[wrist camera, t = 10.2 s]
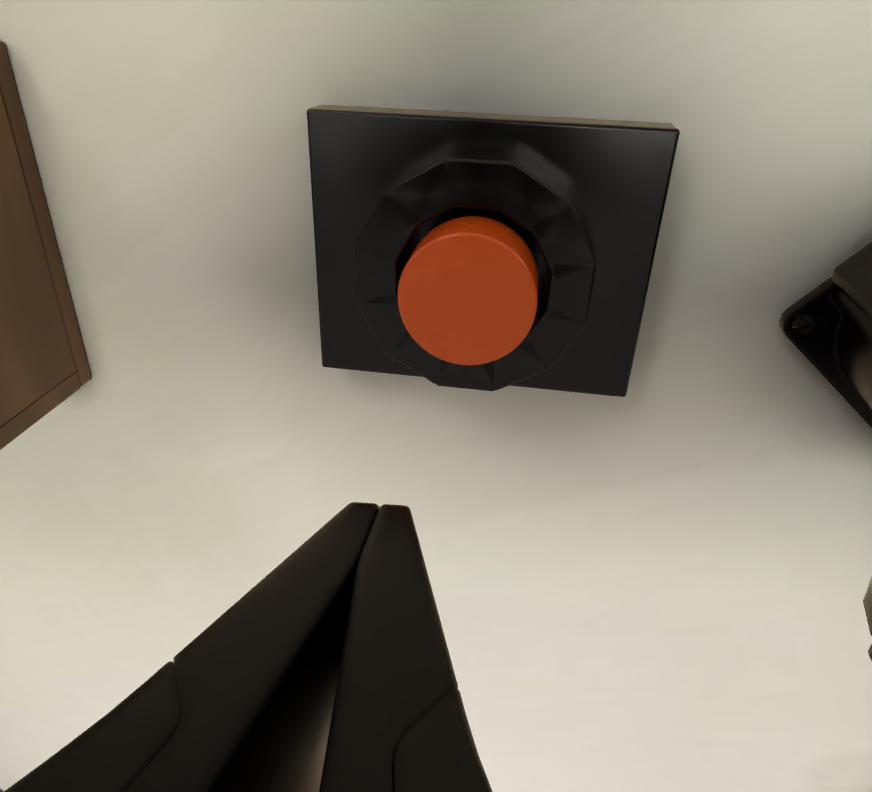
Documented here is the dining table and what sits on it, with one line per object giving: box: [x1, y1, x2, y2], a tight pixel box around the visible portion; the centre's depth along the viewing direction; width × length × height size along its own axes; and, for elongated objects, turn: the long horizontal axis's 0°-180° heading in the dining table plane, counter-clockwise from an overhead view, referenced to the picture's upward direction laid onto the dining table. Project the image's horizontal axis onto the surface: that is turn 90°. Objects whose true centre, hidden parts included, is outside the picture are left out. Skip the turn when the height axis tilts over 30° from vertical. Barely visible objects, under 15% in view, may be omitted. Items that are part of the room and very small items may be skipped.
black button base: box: [307, 105, 680, 397], centre depth 19 cm, size 10×8×3 cm
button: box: [397, 216, 538, 365], centre depth 17 cm, size 4×4×2 cm
